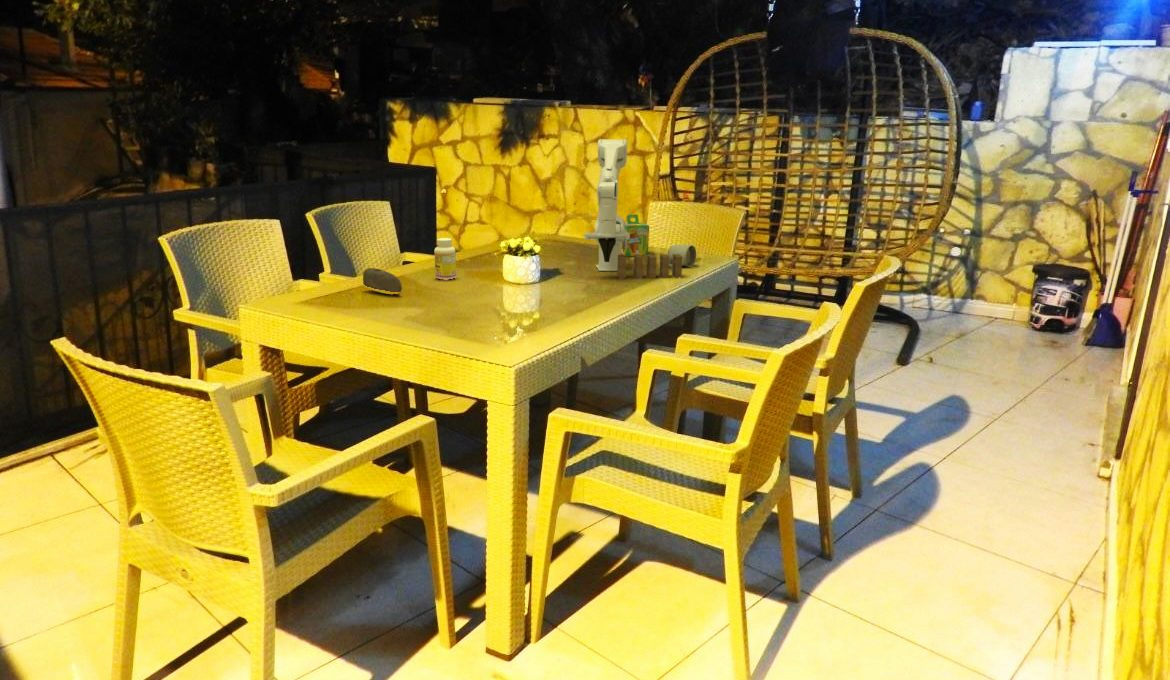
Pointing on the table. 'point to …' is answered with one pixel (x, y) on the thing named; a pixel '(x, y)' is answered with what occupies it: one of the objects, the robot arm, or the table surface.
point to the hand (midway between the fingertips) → (606, 261)
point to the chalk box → (635, 238)
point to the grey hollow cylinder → (683, 254)
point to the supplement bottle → (445, 259)
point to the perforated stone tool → (381, 280)
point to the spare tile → (621, 266)
